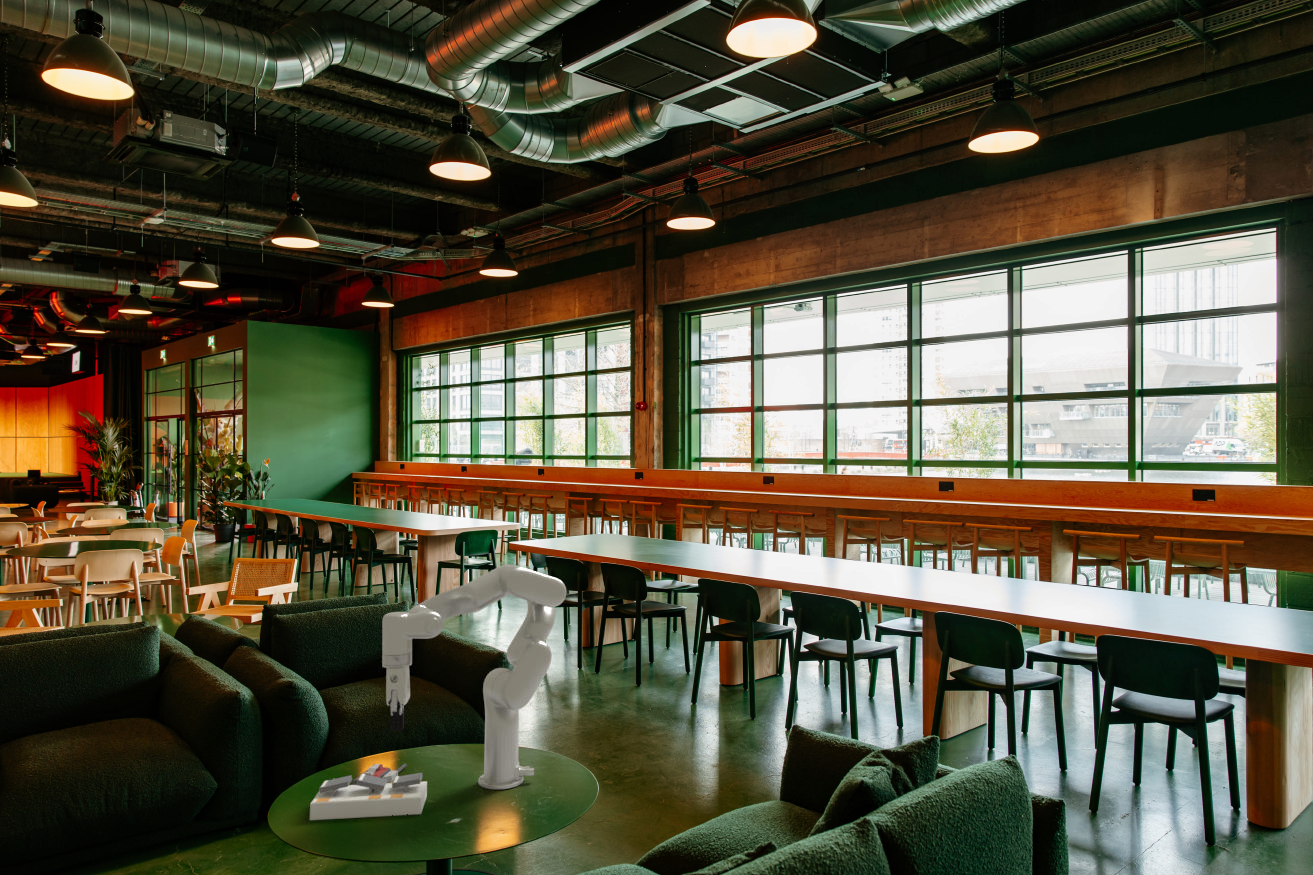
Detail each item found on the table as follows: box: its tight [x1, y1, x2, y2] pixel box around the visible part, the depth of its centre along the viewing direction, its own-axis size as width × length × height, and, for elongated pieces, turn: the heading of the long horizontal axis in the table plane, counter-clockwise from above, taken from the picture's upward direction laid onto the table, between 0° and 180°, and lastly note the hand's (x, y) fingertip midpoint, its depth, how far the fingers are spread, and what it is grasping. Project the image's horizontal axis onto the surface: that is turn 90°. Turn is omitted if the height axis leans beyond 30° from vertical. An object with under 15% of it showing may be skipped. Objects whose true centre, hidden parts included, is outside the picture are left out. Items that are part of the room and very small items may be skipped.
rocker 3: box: [391, 772, 423, 788], centre depth 212 cm, size 7×5×1 cm
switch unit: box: [309, 781, 428, 821], centre depth 210 cm, size 27×12×5 cm, turn 99°
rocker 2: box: [356, 773, 387, 791], centre depth 211 cm, size 7×5×1 cm
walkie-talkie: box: [351, 763, 408, 785], centre depth 230 cm, size 9×4×20 cm
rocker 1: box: [318, 775, 353, 793], centre depth 209 cm, size 7×5×1 cm
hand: (397, 729), depth 213 cm, fingers closed
